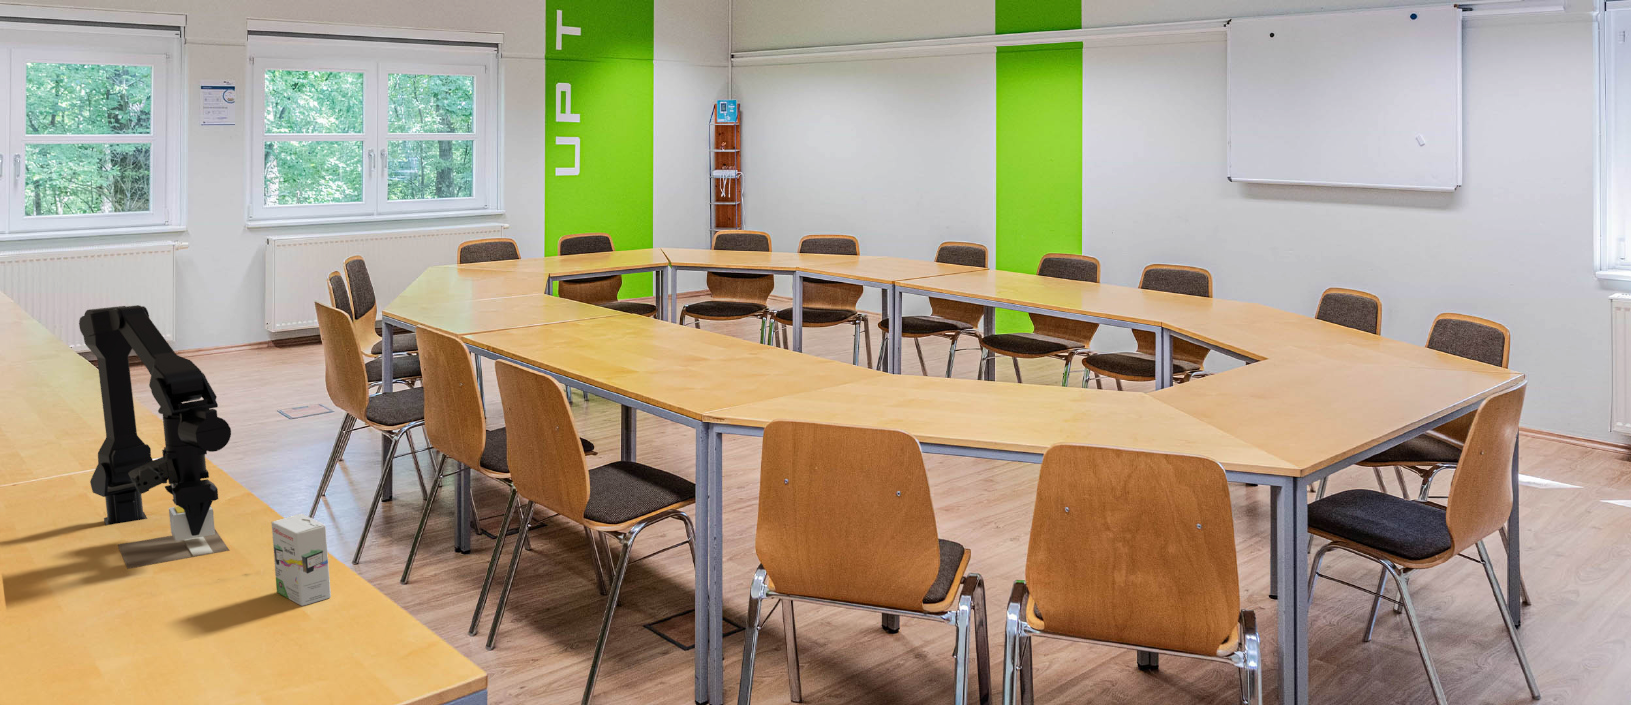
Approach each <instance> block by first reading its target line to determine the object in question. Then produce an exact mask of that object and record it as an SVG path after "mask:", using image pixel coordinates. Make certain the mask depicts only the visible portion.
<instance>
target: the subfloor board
mask: <svg viewBox="0 0 1631 705" xmlns="http://www.w3.org/2000/svg"><path fill="white" fill-rule="evenodd" d="M117 547H118V549H119V552H120V554H121V556H122V559H123V562H124V563H125V566H126V568H127V570H128V569H133V568H140V567H146V566H151V565H157V564H158V565H159V564H163V563H167V562H173V561H179V560H185V559H190V558H196V557H202V556H208V555H212V554H218V553H224V552H229V551H230V549H229V547H228V546H227V544H226V543H225V541H224V540H223V538H222V537H221V535H220V533H218V531H217V530H216V529H215V535H209V536H204V537H198V538H192V539H186V540H180V541H175V539H174V537H173V536H172V535H168V536H166V535H165V536H161V537H154V538H149V539H143V540H137V541H133V542H125V543H120V544H117Z"/></svg>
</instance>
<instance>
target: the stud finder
mask: <svg viewBox="0 0 1631 705" xmlns="http://www.w3.org/2000/svg"><path fill="white" fill-rule="evenodd" d="M168 514H169V523H170V524H169V525H170V533H171V536H173V537H174V539H175V541H180V540H186V539H192V538H198V537H204V536H209V535H215V530H216V527H215V518H214V509H213V507H212V506H210V508H209V511H208V513H207V516H206V518H205V521H204V523H203V526H202V528H201V531H200V534H199V535H195V536H192V534H191V531H190V528H189V525H188V522H187V519H186V515H185V512H184V509H183V508H181V507H180V506H173V507H168Z"/></svg>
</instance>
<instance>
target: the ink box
mask: <svg viewBox="0 0 1631 705" xmlns="http://www.w3.org/2000/svg"><path fill="white" fill-rule="evenodd" d="M326 526H327V525H325V524H324V523H322V522H320V521H319V520H316V519H314V518H312V517H310V516H308V515H306V514H304V513H298V514H294V515H292V516H288V517H284V518H281V519H277V520H273V521H271V533H272V543H273V544H272V545H273V557H274V558H273V559H274V571H275V586H276V593H277V594H279V595H281V596H282V597H284V598H286V599H289V600H290V601H292V602H294V603H295V604H297V605H299V606H302V607H303V606H306V605H307V606H308V605H310V604H314V603H318V602H319V601H324V600H328V599H330V598H331V597H332V593H331V592H332V591H331V582H330V566H329V556H328V554H329V553H328V542H327V541H328V540H327V528H326Z"/></svg>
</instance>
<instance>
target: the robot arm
mask: <svg viewBox="0 0 1631 705" xmlns="http://www.w3.org/2000/svg"><path fill="white" fill-rule="evenodd" d="M78 324H79V325H78V327H79V331H80V332H81V335H82V336H83V342H84V344H85V346H86V347H87V348H88V349H89V350H90V351H91V353H92V354H93V355H94V356H95V357H96V360H97V367H98V368H97V369H98V378H99V383H100V384H99V386H100V392H101V402H102V409H103V417H104V418H103V419H104V427H105V428H104V429H105V436H106V437H105V440H103V443H102V445H101V446H100V448H99V449H98V452H97V465H96V467H95V469H94V471H93V474H92V476H91V479H90V481H89V483H90V486H91V491H92V493H93V494H95V495H98V496H101V497H103V498H105V507H106V515H107V516H106V517H104V518H103V523H104V524H105V526H110V525H111V526H112V525H117V524H118V525H119V524H123V523H130V522H136V521H142V520H143V521H144V520H147V519H148V518H147V515H146V513H145V512H144V509H143V498H142V494H145V493H147V492H149V491H150V490H151V489H153V488H156V487H157V486H159V485H161V484H167V483H168V484H167V485H165V486H164V488H165V490H166V492H167V493H169V494H171V495H172V502H173V503H174V505H175V507H178V506H180V507H181V508H183V509H184V512H185V515H186V519H187V522H188V525H189V528H190V531H191V534H192V536H195V535H199V534H200V531H201V528H202V526H203V523H204V521H205V518H206V516H207V513H208V511H209V508H210V506H211V505H212V503H213V502H215V501H216V500H219V492H218V487H217V486H216V484H215V483H214V482H212V481H211V480H209V478H210V474H209V470H208V469H207V464H206V462H207V461H206V455H207V452H210V453H211V452H218V451H220V450H222V449H223V448H225V447H226V445H228V444H229V441H230V440H231V436H232V429H231V427H230V425H229V423H228V421H226V420H225V419H224V418H221V417H219V416H218V410H217V409H215V408H219V407H218V406H219V405H218V402H217V394H216V392H215V391H214V389H213V388H212V386H211V385H210V382H209V381H208V378H207V376H206V375H205V374H204V372H202V370H201V369H200V368H199V367H198V366H197V365H196V364H195V363H194V362H193V361H192V360H190V359H188V358H185V357H183V356H180V355H178V354H177V353H176V352H175V351H174V349H173V348H172V347H171V345H170V344H169V343H168V340H166V338H165V337H164V336H163V334H162V333H161V332H160V331H159V329H158V328H157V326H156V325H155V324H154V323H153V321H152V320H151V319H150V315H149V311H148V309H147V308H146V307H145V306H141V305H136V304H135V305H128V306H126V305H121V306H112V307H101V308H99V307H98V308H92V309H91V308H90V309H87V310H85V312H84V314H83V315H82V316H81V317H79V321H78ZM132 350H133V351H134V353H135V354H136V355H137V357H138V358H139V360H140V361H141V363H142V364H143V365H144V366H145V368H146V370H148V372H149V374H150V379H149V384H148V386H149V388H150V392H151V394H152V396H153V398H154V400H155V401H156V403H157V404H158V406H159V407H158V410H157V411H158V414H160V415H162V423H163V436H164V444H165V446H164V447H163V449H162V450H161V452H162V457H160V458H157V459H153V457H152V455H151V454H152V452H151V450H152V448H151V447H150V445H149V444H147V443H145V442H144V441H143V440H142V439H141V438H140V437H139V435H138V433H137V432H138V430H137V424H136V415H135V414H136V412H135V404H134V395H133V388H132V379H131V369H130V361H129V356H130V354H131V352H132ZM201 398H202V399H201ZM211 507H212V506H211Z"/></svg>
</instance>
